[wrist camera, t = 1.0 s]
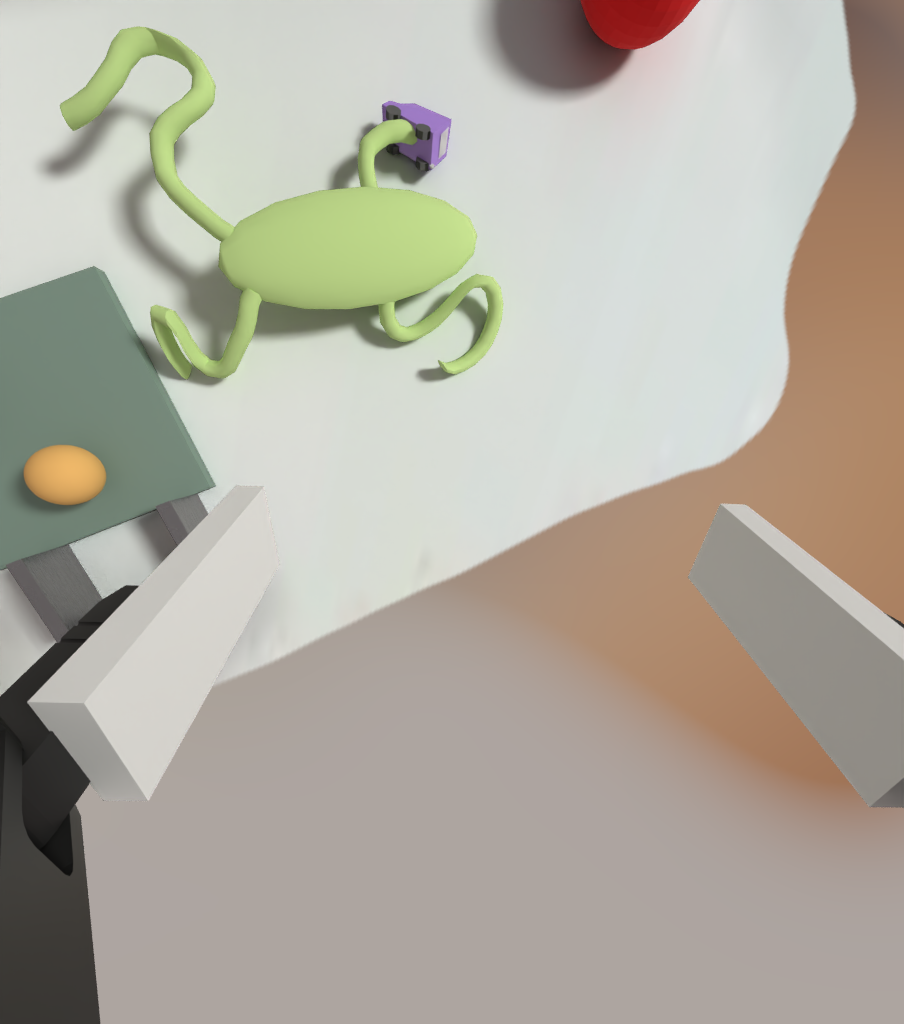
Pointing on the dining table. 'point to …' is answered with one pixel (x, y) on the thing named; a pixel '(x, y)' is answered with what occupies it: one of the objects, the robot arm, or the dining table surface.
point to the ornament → (635, 20)
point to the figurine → (309, 222)
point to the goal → (65, 584)
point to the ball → (64, 474)
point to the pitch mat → (83, 414)
